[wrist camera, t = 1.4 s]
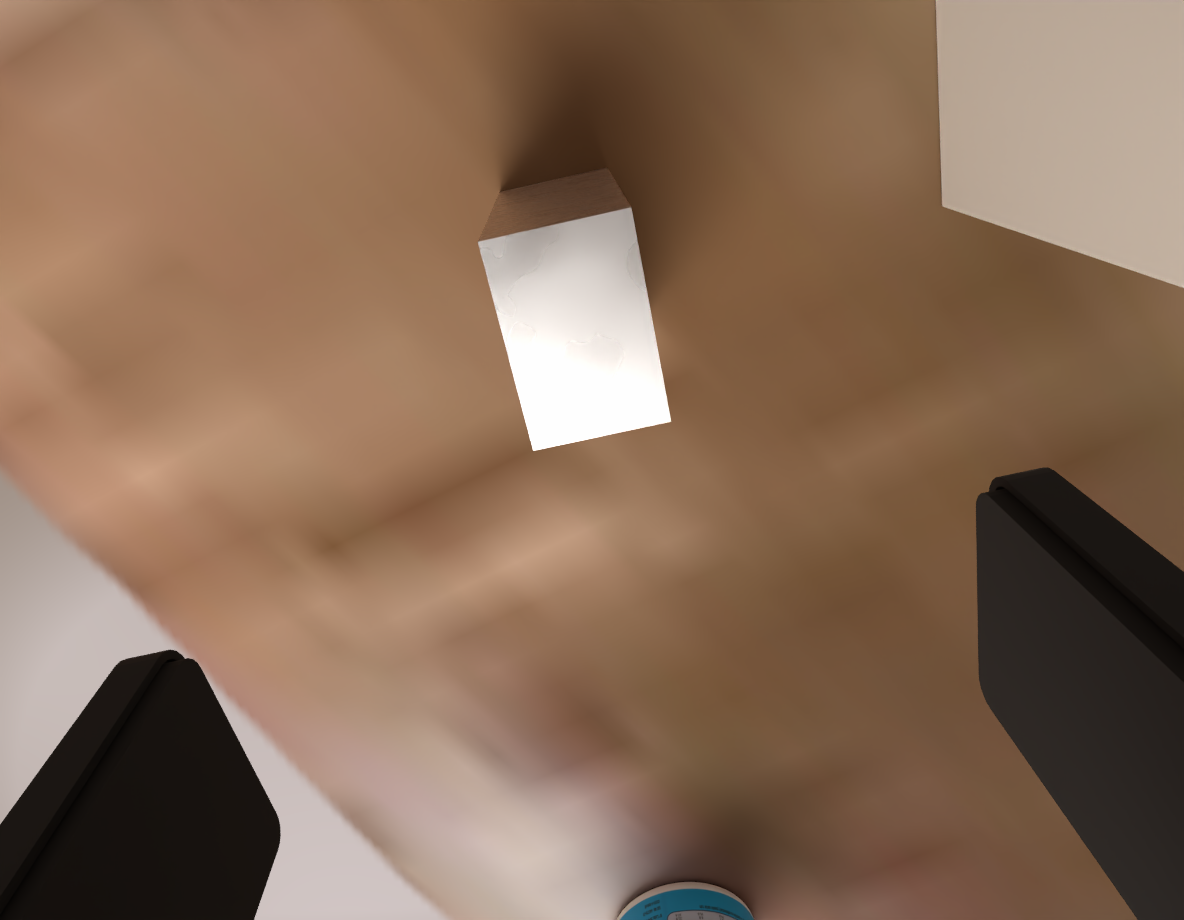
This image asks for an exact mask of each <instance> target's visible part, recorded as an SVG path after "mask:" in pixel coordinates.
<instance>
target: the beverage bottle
mask: <svg viewBox="0 0 1184 920" xmlns="http://www.w3.org/2000/svg"><path fill="white" fill-rule="evenodd" d="M617 920H754V918H753V916H752V914H751V912H750V910H749V908H748V907H747V906H746V904H745V903H744V902H743V901H742V900H741V899H740V898H738V897H737V896H736V895H734V894H733V893H731V892H730V891H728V890H726V889H723V888H721V887H718V886H715V885H711V884H707V883H700V882H679V883H672V884H667V885H663V886H660V887H657V888H654V889H652V890H649V891H647V892H645V893H643V894H642V895H640V896H638V897H637V898H635V899H634V900H633V901H632V902H630V903H629V904H628V905H627V906H626V907H625V908H624V909H623V911H622V912H621V913H620V915H619V916H618V918H617Z"/></svg>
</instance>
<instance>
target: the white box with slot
mask: <svg viewBox="0 0 1184 920" xmlns="http://www.w3.org/2000/svg"><path fill="white" fill-rule="evenodd" d="M936 24H937V56H938V88H939V120H940V152H941V184H942V206H943V207H946V208H949V209H952V210H955V211H958V212H961V213H964V214H967V215H970V216H972V217H975V218H978V219H981V220H984V221H987V222H990V223H993V224H996V225H999V226H1002V227H1005V228H1008V229H1011V230H1014V231H1017V232H1020V233H1023V234H1026V235H1029V236H1032V237H1035V238H1038V239H1041V240H1044V241H1047V242H1050V243H1052V244H1055V245H1058V246H1061V247H1064V248H1067V249H1070V250H1073V251H1076V252H1079V253H1082V254H1085V255H1088V256H1091V257H1094V258H1097V259H1100V260H1103V261H1106V262H1109V263H1112V264H1115V265H1118V266H1121V267H1124V268H1127V269H1129V270H1132V271H1135V272H1138V273H1141V274H1144V275H1147V276H1150V277H1153V278H1156V279H1159V280H1162V281H1165V282H1168V283H1171V284H1174V285H1177V286H1180V287H1183V288H1184V0H936Z"/></svg>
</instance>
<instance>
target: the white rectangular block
mask: <svg viewBox="0 0 1184 920" xmlns="http://www.w3.org/2000/svg"><path fill="white" fill-rule="evenodd" d="M478 244H479V248H480V252H481V255H482V259H483V263H484V267H485V270H486V274H487V278H488V282H489V285H490V289H491V293H492V297H493V301H494V304H495V308H496V312H497V316H498V319H499V323H500V327H501V331H502V334H503V338H504V342H505V346H506V349H507V353H508V357H509V361H510V364H511V368H512V372H513V376H514V380H515V383H516V387H517V391H518V395H519V398H520V402H521V406H522V410H523V413H524V417H525V421H526V425H527V428H528V432H529V436H530V440H531V443H532V447H533V451H534V450H539V449H544V448H548V447H553V446H558V445H563V444H567V443H572V442H577V441H581V440H586V439H591V438H596V437H600V436H605V435H610V434H614V433H619V432H624V431H629V430H633V429H638V428H643V427H647V426H652V425H657V424H661V423H666V422H671V419H670V413H669V408H668V403H667V397H666V392H665V386H664V381H663V376H662V370H661V365H660V359H659V354H658V349H657V343H656V338H655V332H654V327H653V322H652V316H651V311H650V305H649V300H648V295H647V289H646V284H645V279H644V273H643V268H642V262H641V257H640V252H639V246H638V241H637V235H636V230H635V225H634V219H633V214H632V208H631V206H630V204H629V203H628V201H627V199H626V198H625V196H624V194H623V193H622V191H621V189H620V188H619V186H618V184H617V183H616V181H615V179H614V178H613V176H612V174H611V173H610V171H609V169H608V168H603V169H598V170H594V171H589V172H585V173H581V174H576V175H572V176H568V177H563V178H559V179H554V180H550V181H546V182H541V183H537V184H532V185H528V186H524V187H519V188H515V189H510V190H506V191H502V192H500V193H499V195H498V197H497V199H496V202H495V204H494V206H493V209H492V211H491V213H490V215H489V218H488V220H487V222H486V225H485V227H484V229H483V231H482V234H481V236H480V238H479V240H478Z"/></svg>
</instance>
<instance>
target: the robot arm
mask: <svg viewBox="0 0 1184 920" xmlns="http://www.w3.org/2000/svg"><path fill="white" fill-rule="evenodd" d="M976 536H977V597H978V659H979V681H980V685H981V689H982V692H983V695H984V697H985V699H986V702H987V704H988V705H989V707H990V709H991V710H992V712H993V713H994V714H995V716H996V717H997V719H998V720H999V722H1000V723H1001V724H1002V726H1003V727H1004V729H1005V730H1006V732H1007V733H1008V734H1009V736H1010V737H1011V739H1012V740H1013V742H1014V743H1015V745H1016V746H1017V747H1018V749H1019V750H1020V752H1021V753H1022V755H1023V756H1024V757H1025V759H1026V760H1027V762H1028V763H1029V765H1030V766H1031V767H1032V769H1033V770H1034V772H1035V773H1036V775H1037V776H1038V777H1039V779H1040V780H1041V782H1042V783H1043V785H1044V786H1045V787H1046V789H1047V790H1048V792H1049V793H1050V795H1051V796H1052V797H1053V799H1054V800H1055V802H1056V803H1057V805H1058V806H1059V807H1060V809H1061V810H1062V812H1063V813H1064V815H1065V816H1066V817H1067V819H1068V820H1069V822H1070V823H1071V825H1072V826H1073V827H1074V829H1075V830H1076V832H1077V833H1078V835H1079V836H1080V837H1081V839H1082V840H1083V842H1084V843H1085V845H1086V846H1087V848H1088V849H1089V850H1090V852H1091V853H1092V855H1093V856H1094V858H1095V859H1096V860H1097V862H1098V863H1099V865H1100V866H1101V868H1102V869H1103V870H1104V872H1105V873H1106V875H1107V876H1108V878H1109V879H1110V880H1111V882H1112V883H1113V885H1114V886H1115V888H1116V889H1117V890H1118V892H1119V893H1120V895H1121V896H1122V898H1123V899H1124V900H1125V902H1126V903H1127V905H1128V906H1129V908H1130V909H1131V910H1132V912H1133V913H1134V915H1135V916H1136V918H1137V919H1138V920H1184V572H1183V571H1182V570H1180V569H1179V568H1178V567H1177V566H1175V565H1174V564H1173V563H1172V562H1170V561H1169V560H1168V559H1166V558H1165V557H1164V556H1163V555H1161V554H1160V553H1159V552H1157V551H1156V550H1155V549H1154V548H1152V547H1151V546H1150V545H1149V544H1147V543H1146V542H1145V541H1143V540H1142V539H1141V538H1140V537H1138V536H1137V535H1136V534H1134V533H1133V532H1132V531H1131V530H1129V529H1128V528H1127V527H1126V526H1124V525H1123V524H1122V523H1120V522H1119V521H1118V520H1117V519H1115V518H1114V517H1113V516H1112V515H1110V514H1109V513H1108V512H1106V511H1105V510H1104V509H1103V508H1101V507H1100V506H1099V505H1097V504H1096V503H1095V502H1094V501H1092V500H1091V499H1090V498H1089V497H1087V496H1086V495H1085V494H1083V493H1082V492H1081V491H1080V490H1078V489H1077V488H1076V487H1074V486H1073V485H1072V484H1071V483H1069V482H1068V481H1067V480H1066V479H1064V478H1063V477H1062V476H1060V475H1059V474H1058V473H1057V472H1055V471H1054V470H1052V469H1050V468H1039V469H1034V470H1029V471H1025V472H1020V473H1015V474H1010V475H1005V476H1001V477H996V478H995V479H994V480H993V481H992V482H991V485H990V488H989V492H986V493H981V494H980V495H979V496H978V498H977V501H976ZM279 844H280V824H279V819H278V816H277V814H276V811H275V810H274V808H273V806H272V804H271V802H270V800H269V798H268V796H267V794H266V792H265V790H264V788H263V786H262V785H261V783H260V781H259V779H258V777H257V775H256V773H255V771H254V769H253V767H252V765H251V763H250V761H249V760H248V758H247V756H246V754H245V752H244V750H243V748H242V746H241V744H240V742H239V740H238V738H237V736H236V734H235V733H234V731H233V729H232V727H231V725H230V723H229V721H228V719H227V717H226V716H225V713H224V712H223V709H222V708H221V706H220V704H219V702H218V700H217V698H216V696H215V694H214V692H213V690H212V688H211V686H210V684H209V683H208V681H207V679H206V677H205V675H204V673H203V671H202V669H201V667H200V666H199V664H198V663H197V662H196V661H194V660H193V659H189V658H187V659H185V658H184V657H183V656H182V655H181V654H180V653H178V652H177V651H174V650H166V651H162V652H157V653H152V654H148V655H143V656H138V657H133V658H128V659H125V660H122V661H120V662H119V663H118V664H117V665H116V666H115V667H114V669H113V670H112V671H111V673H110V674H109V675H108V677H107V678H106V680H105V681H104V682H103V684H102V685H101V687H100V688H99V689H98V691H97V692H96V693H95V695H94V696H93V698H92V699H91V700H90V702H89V703H88V705H87V706H86V707H85V709H84V710H83V711H82V713H81V714H80V716H79V717H78V719H77V720H76V721H75V722H74V724H73V725H72V727H71V728H70V729H69V731H68V732H67V733H66V735H65V736H64V738H63V739H62V740H61V742H60V743H59V744H58V746H57V747H56V749H55V750H54V751H53V753H52V754H51V755H50V757H49V758H48V760H47V761H46V762H45V764H44V765H43V766H42V768H41V769H40V771H39V772H38V773H37V775H36V776H35V778H34V779H33V780H32V782H31V783H30V785H29V786H28V787H27V789H26V790H25V791H24V793H23V794H22V795H21V797H20V798H19V800H18V801H17V802H16V804H15V805H14V806H13V808H12V809H11V811H10V812H9V813H8V815H7V816H6V817H5V819H4V820H3V822H2V823H1V824H0V920H254V917H255V915H256V912H257V909H258V906H259V903H260V900H261V897H262V894H263V892H264V889H265V886H266V883H267V880H268V877H269V874H270V871H271V868H272V865H273V863H274V859H275V857H276V854H277V851H278V848H279Z"/></svg>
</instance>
